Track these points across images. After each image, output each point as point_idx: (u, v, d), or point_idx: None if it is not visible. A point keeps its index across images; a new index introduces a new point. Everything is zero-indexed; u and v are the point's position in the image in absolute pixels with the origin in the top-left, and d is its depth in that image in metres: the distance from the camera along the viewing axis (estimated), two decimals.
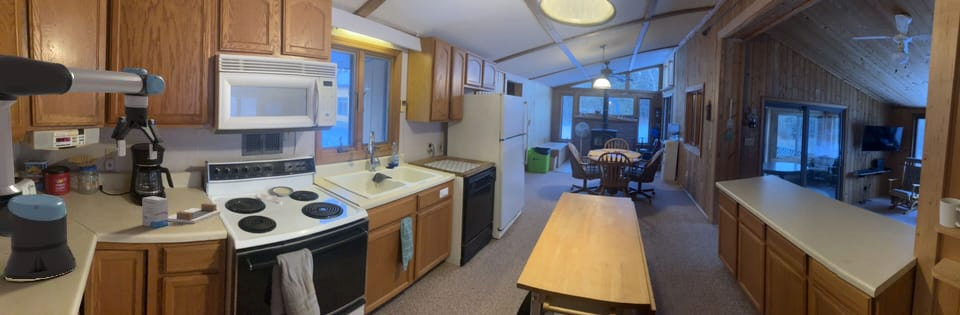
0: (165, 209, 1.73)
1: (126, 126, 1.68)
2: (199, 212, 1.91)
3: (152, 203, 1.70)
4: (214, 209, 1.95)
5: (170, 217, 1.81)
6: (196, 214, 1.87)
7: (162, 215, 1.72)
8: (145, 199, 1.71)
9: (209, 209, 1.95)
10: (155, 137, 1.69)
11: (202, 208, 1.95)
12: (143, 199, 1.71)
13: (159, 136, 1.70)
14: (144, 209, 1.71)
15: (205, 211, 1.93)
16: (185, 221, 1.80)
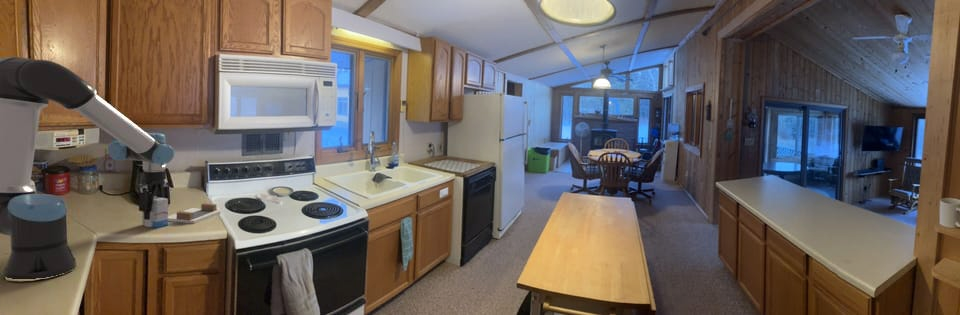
0: (165, 209, 1.73)
1: None
2: (199, 212, 1.91)
3: (152, 203, 1.70)
4: (214, 209, 1.95)
5: (170, 217, 1.81)
6: (196, 214, 1.87)
7: (162, 215, 1.72)
8: None
9: (209, 209, 1.95)
10: None
11: (202, 208, 1.95)
12: None
13: (142, 206, 1.66)
14: None
15: (205, 211, 1.93)
16: (185, 221, 1.80)
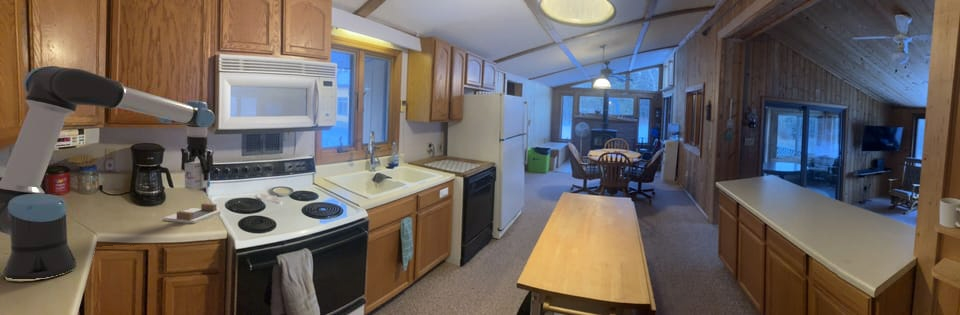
0: None
1: (190, 155, 1.83)
2: (199, 212, 1.91)
3: None
4: (214, 209, 1.95)
5: (170, 217, 1.81)
6: (196, 214, 1.87)
7: None
8: (196, 164, 1.83)
9: (209, 209, 1.95)
10: (208, 167, 1.84)
11: (202, 208, 1.95)
12: (194, 165, 1.81)
13: (211, 167, 1.85)
14: (196, 174, 1.83)
15: (205, 211, 1.93)
16: (185, 221, 1.80)
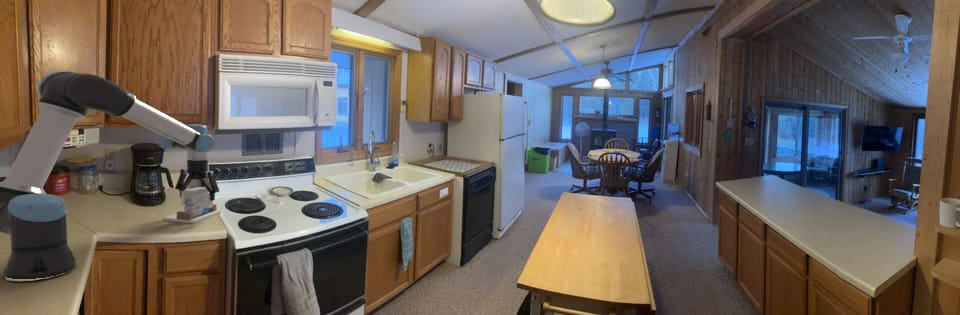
0: None
1: (188, 177, 1.85)
2: None
3: (204, 191, 1.88)
4: (214, 209, 1.95)
5: (170, 217, 1.81)
6: None
7: None
8: (196, 191, 1.84)
9: (209, 209, 1.95)
10: (213, 188, 1.85)
11: None
12: (193, 192, 1.83)
13: (216, 187, 1.87)
14: (195, 200, 1.84)
15: None
16: (185, 221, 1.80)
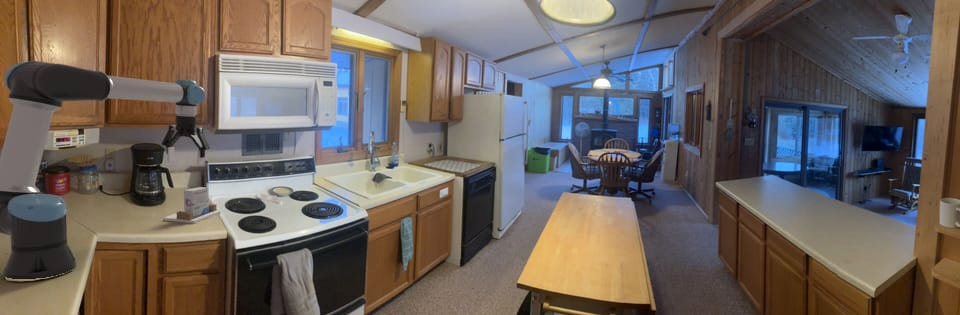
0: None
1: (176, 134, 1.79)
2: None
3: (204, 191, 1.88)
4: (214, 209, 1.95)
5: (170, 217, 1.81)
6: None
7: None
8: (196, 191, 1.84)
9: (209, 209, 1.95)
10: (203, 144, 1.80)
11: None
12: (194, 192, 1.83)
13: (206, 143, 1.81)
14: (195, 201, 1.84)
15: None
16: (185, 221, 1.80)
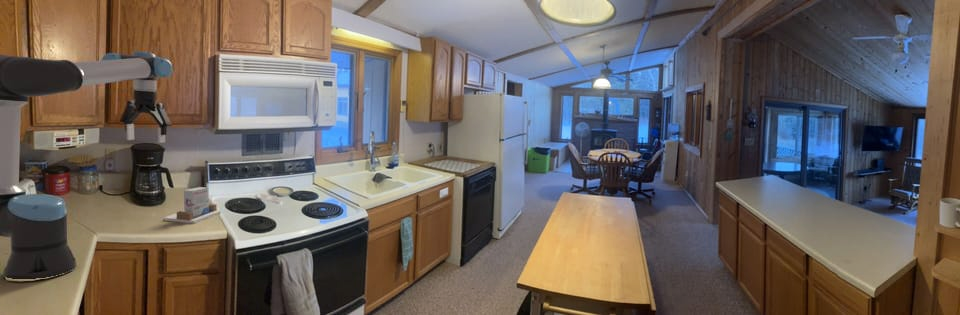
0: None
1: (135, 110, 1.70)
2: None
3: (204, 191, 1.88)
4: (214, 209, 1.95)
5: (170, 217, 1.81)
6: None
7: None
8: (196, 191, 1.84)
9: (209, 209, 1.95)
10: (163, 121, 1.71)
11: None
12: (194, 192, 1.83)
13: (167, 120, 1.72)
14: (195, 201, 1.84)
15: None
16: (185, 221, 1.80)
